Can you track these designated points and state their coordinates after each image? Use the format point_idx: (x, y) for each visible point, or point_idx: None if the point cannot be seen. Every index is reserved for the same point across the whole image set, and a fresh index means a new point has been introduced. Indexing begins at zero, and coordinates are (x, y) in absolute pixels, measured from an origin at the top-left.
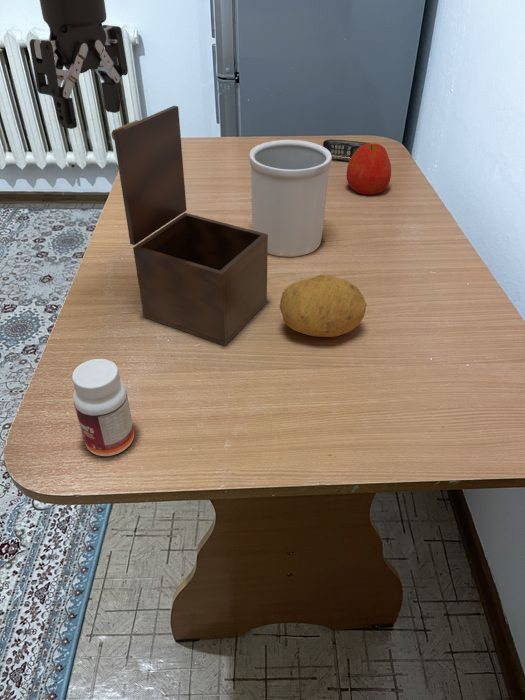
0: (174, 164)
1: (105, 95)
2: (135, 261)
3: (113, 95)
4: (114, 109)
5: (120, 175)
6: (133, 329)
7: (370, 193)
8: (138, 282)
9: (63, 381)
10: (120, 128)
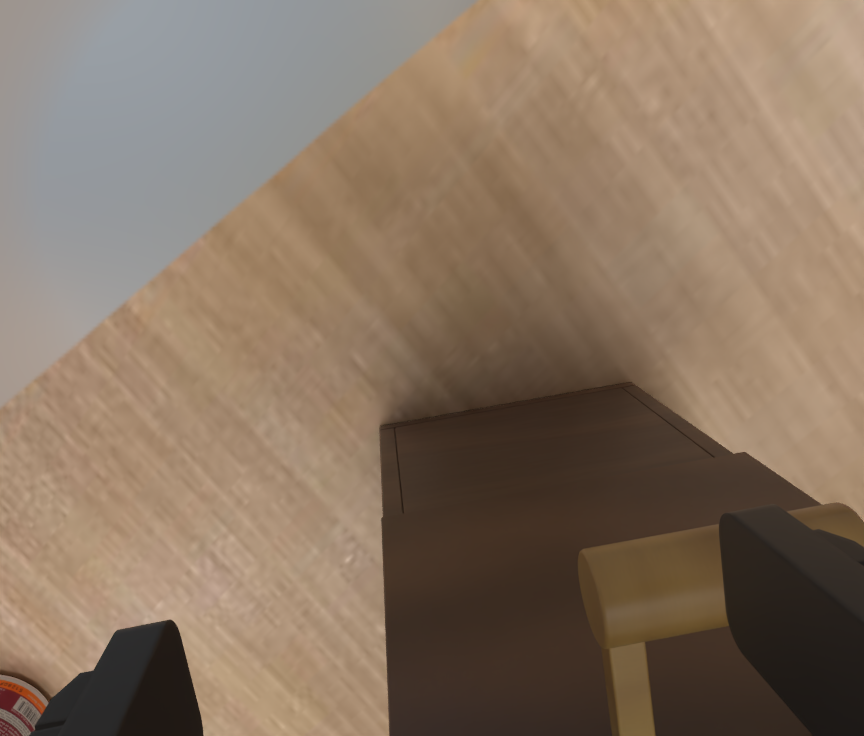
0: None
1: (798, 604)
2: (382, 500)
3: (812, 723)
4: (739, 631)
5: (389, 699)
6: (317, 447)
7: None
8: (381, 468)
9: (35, 480)
10: (652, 627)
